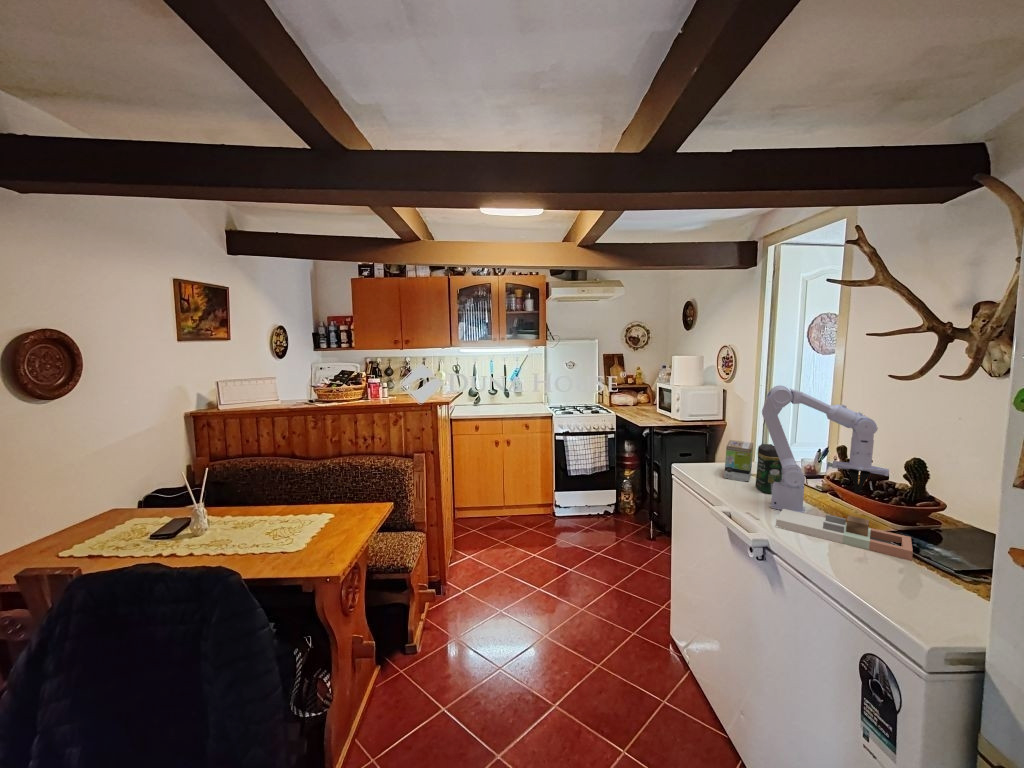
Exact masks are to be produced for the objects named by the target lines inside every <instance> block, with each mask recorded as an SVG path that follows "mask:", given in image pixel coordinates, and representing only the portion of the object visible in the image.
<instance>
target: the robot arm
mask: <svg viewBox="0 0 1024 768" xmlns="http://www.w3.org/2000/svg"><path fill="white" fill-rule="evenodd" d="M790 403H791V404H792V405H798V404H799V405H800V404H802V405H805V406H807V407H809V408H811V409H814V410H817V411H819V412H821V413H824V414H825V416H826V418H827V420H830V421H832V422H834V423H836V424H838V425H840V426H843V427H845V428H848V429H851V430H852V433H851V441H850V450H849V451H850V452H849V462H847V461H846V462H845V461H837V460H832V465H831V467H832V468H833V469H843V470H848V473H849V476H850V477H851V480H852V483H853V486H854V493H855V494H861V491H862V489H863V487H864V485H865V483H866V481H867V480H868V479H869V478H870V476H871V474H876V475H881V476H885V477H890V469H889V468H883V467H881V466H880V467H879V466H875V465H872V464H873V453H874V442H875V440H874V437H875V435H874V434H876V432H877V431H878V429H879V428H878V425H877V423H876V422H875V420H873V419H871V418H870V417H869V416H867V415H865V414H863V413H862V412H860V411H859V412H857V411H854V410H852V409H850V408H848V406H847V405H846V404H841V405H840V404H838V403H837V404H832V405H831V404H828V403H826V402H824V401H822V400H819V399H817V398H815V397H813V396H811V395H809V394H807V393H804V392H803V391H800V390H797V389H793V388H788V387H787V386H784V385H781V384H779V385H776V386H773V387H772V388H771V389H770V390H769V391H768V393H767V394H766V398H765V401H764V404H763V407H762V410H761V415H762V417H763V419H764V423H765V425H766V429H767V431H768V433H769V435H770V438H771V440H772V445H773V446H775V449H776V452H777V454H778V457H779V460H780V462H781V465H782V470H781V472H782V475H783V479H782V480H781V481H780V482H774V483H773V487H772V494H771V497H770V498H771V499H770V501H771V503H770V504H771V505H770V508H772V509H775V510H778V511H779V510H780V511H782V509H787V510H791V511H796V512H800V513H804V512H805V510H806V507H805V506H804V497H805V496H804V495H805V484H804V483H805V481H806V478H805V474H804V473H803V470H802V468H801V467H800V466H799V465H798V464H797V463H796V460H795V457H794V455H793V452H792V449H791V446H790V444H789V441H788V439H787V437H786V434H785V430H784V429H783V426H782V424H781V421H780V418H779V414H780V412H781V411H782V410H783V408H785V407H786V406H787V405H789V404H790Z"/></svg>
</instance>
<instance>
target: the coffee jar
mask: <svg viewBox="0 0 1024 768" xmlns="http://www.w3.org/2000/svg"><path fill="white" fill-rule="evenodd" d="M757 447H758V448H757V466H756V477H755V487H756V488H757V489H758V490H759V491H761V492H762V493H765V494H769V495H772V487H773V483H774V482H780V481H781V480H782V472H781V470H782V465H781V462H780V460H779V457H778V454H777V452H776V449H775V446H774V444H773V443H771V444H770V443H769V444H768V443H761V444H760V445H759V446H757Z"/></svg>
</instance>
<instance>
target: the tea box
mask: <svg viewBox="0 0 1024 768" xmlns="http://www.w3.org/2000/svg"><path fill="white" fill-rule="evenodd" d="M753 451H754V442H748V441H742V440H733V439H729V441H728V443H727V444H726V450H725V460H724V461H725V462H724V473H723V477H724V478H723V479H727V478H728V479H727V480H732V479H734V481H739V480H741V481H740V482H745V481H748V482H749V481H750V479H751V476H752V475H751V474H752V468H753V465H752V463H753V453H754V452H753Z"/></svg>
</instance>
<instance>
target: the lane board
mask: <svg viewBox="0 0 1024 768" xmlns="http://www.w3.org/2000/svg"><path fill="white" fill-rule="evenodd" d="M775 521H776V522H775V527H776V526H778V527H777V528H779V527H782V528H781V529H783V528H785V529H784V530H787V529H788V531H792V532H796V533H800V534H804V535H807V536H812V537H816V538H819V539H823V540H828V541H832V542H835V543H838V544H840V543H841V544H844V545H848V546H852V547H856V548H860V549H865V550H868V551H871V552H877V553H880V554H885V555H888V556H892V557H897V558H901V559H903V560H904V559H905V560H909V561H913V553H914V552H913V550H914V549H913V544H912V543H913V542H912V537H911V536H908V535H903V534H899V533H894V532H891V531H885V530H881V529H876V528H872V527H868V537H867V536H863V535H858V534H854V533H850V532H846V525H847V518H843V517H840V516H835V515H831V514H825V517H824V516H823V517H822V516H817V515H813V514H809V513H804V512H803V513H800V512H796V511H791V510H787V509H782V510H780V513H778V516H777V518H776V519H775ZM891 542H896V543H901V546H897V545H893V544H892V543H891Z"/></svg>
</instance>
